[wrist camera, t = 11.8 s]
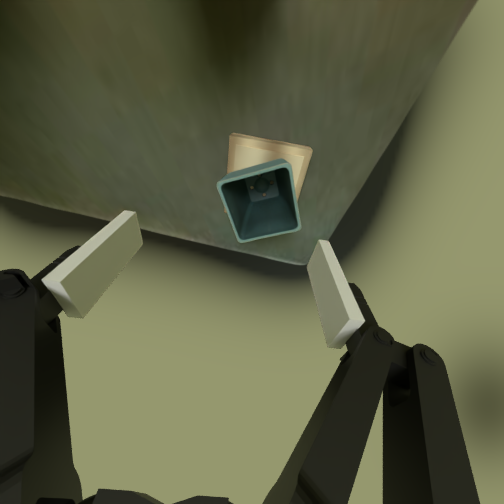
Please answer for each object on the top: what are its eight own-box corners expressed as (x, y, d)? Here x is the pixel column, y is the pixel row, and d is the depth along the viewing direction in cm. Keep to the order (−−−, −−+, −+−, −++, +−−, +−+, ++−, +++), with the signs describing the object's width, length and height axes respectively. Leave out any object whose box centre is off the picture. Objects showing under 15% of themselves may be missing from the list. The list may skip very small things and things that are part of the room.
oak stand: (226, 205, 38) (223, 213, 35) (232, 132, 31) (229, 135, 28) (289, 215, 38) (290, 224, 36) (309, 146, 31) (313, 150, 28)
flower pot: (284, 145, 28) (291, 161, 21) (294, 202, 33) (302, 231, 26) (226, 163, 30) (214, 182, 23) (244, 214, 35) (238, 244, 28)
